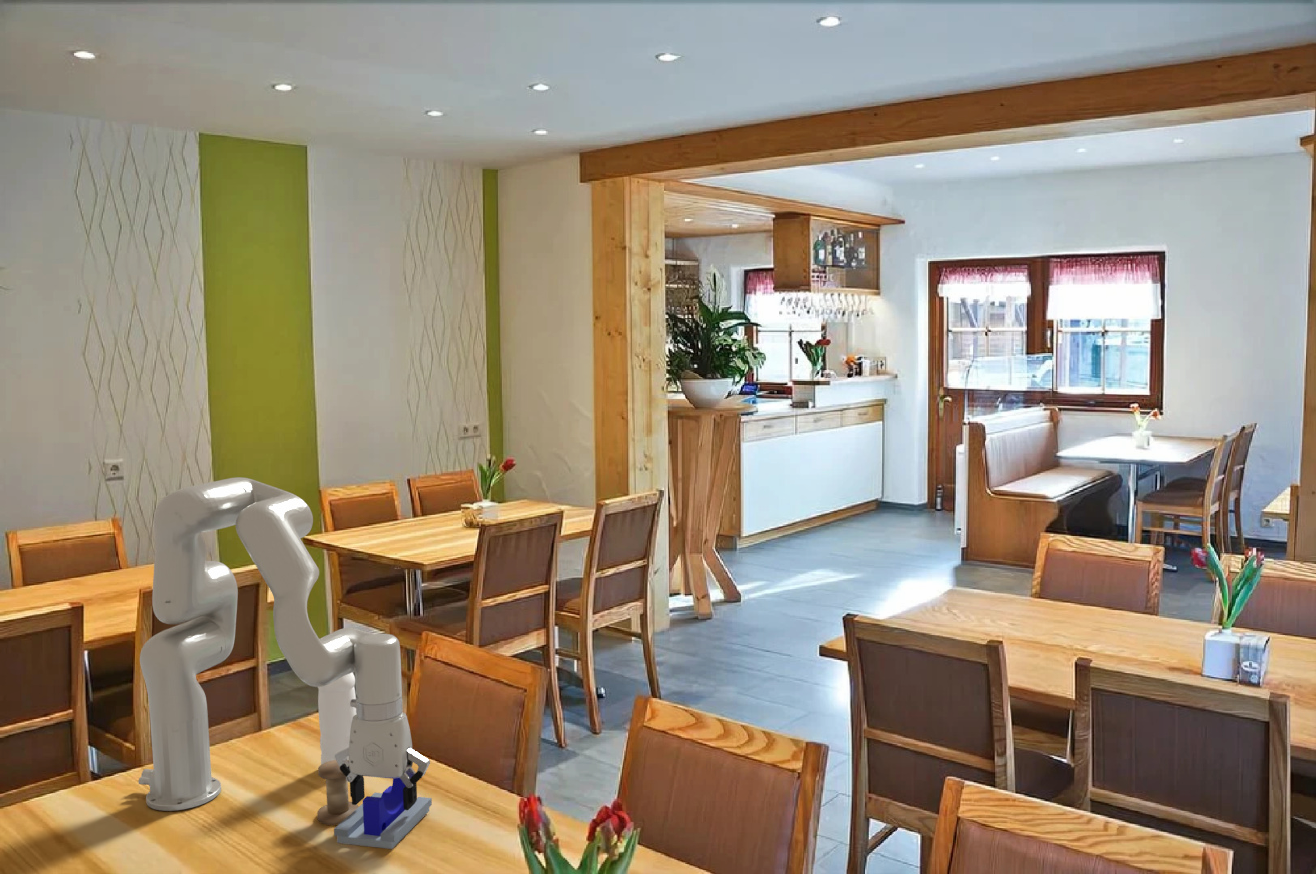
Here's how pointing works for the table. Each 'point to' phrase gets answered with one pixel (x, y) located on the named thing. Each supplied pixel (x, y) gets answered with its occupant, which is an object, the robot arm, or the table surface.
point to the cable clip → (383, 808)
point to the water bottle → (336, 716)
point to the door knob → (334, 795)
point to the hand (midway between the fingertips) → (383, 804)
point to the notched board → (354, 830)
